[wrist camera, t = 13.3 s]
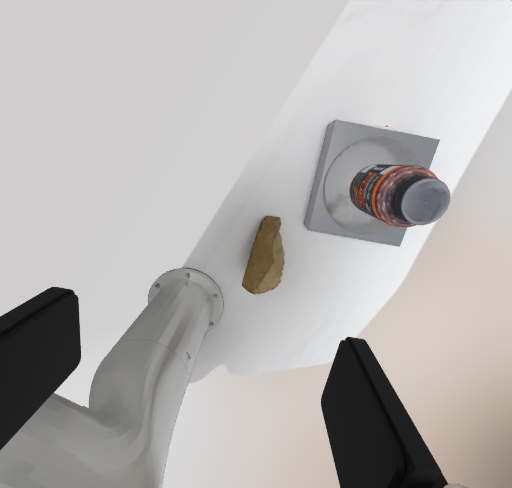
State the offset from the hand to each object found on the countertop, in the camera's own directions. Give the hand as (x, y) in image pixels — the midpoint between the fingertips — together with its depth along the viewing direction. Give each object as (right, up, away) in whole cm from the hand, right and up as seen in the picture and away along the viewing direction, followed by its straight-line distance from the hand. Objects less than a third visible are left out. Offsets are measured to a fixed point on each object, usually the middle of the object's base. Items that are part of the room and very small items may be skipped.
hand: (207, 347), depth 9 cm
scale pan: (+17, +11, +24) cm, 31 cm away
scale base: (+17, +12, +27) cm, 34 cm away
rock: (+4, +3, +31) cm, 32 cm away
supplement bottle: (+16, +11, +23) cm, 30 cm away
